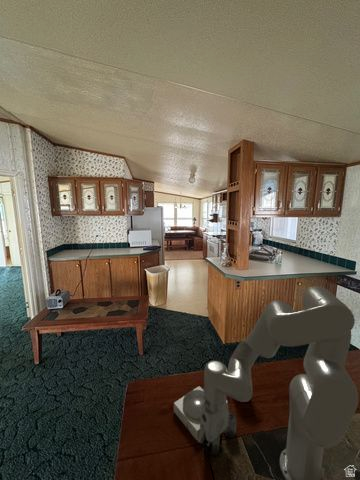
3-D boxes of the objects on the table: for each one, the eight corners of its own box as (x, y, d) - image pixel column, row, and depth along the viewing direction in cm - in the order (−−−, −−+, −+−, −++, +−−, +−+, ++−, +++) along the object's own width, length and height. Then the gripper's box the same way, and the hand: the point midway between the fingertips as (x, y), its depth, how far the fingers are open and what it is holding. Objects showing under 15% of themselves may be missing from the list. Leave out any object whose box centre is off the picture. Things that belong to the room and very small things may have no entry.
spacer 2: (238, 432, 79) (239, 418, 78) (230, 440, 76) (231, 425, 75) (228, 423, 82) (229, 409, 81) (221, 430, 79) (221, 415, 79)
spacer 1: (221, 448, 73) (222, 433, 72) (213, 457, 70) (213, 441, 70) (212, 438, 77) (213, 423, 76) (203, 446, 74) (204, 430, 73)
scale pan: (220, 407, 84) (220, 405, 84) (197, 426, 76) (197, 424, 76) (199, 386, 93) (199, 385, 93) (176, 401, 86) (176, 400, 86)
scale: (222, 417, 84) (223, 408, 84) (196, 441, 75) (196, 430, 75) (198, 393, 95) (199, 385, 94) (173, 411, 86) (173, 402, 86)
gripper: (204, 423, 63) (202, 475, 65) (239, 394, 73) (236, 439, 76) (188, 405, 69) (187, 453, 71) (222, 380, 79) (220, 423, 82)
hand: (212, 445), depth 73 cm, fingers closed on spacer 1, 4 cm apart
